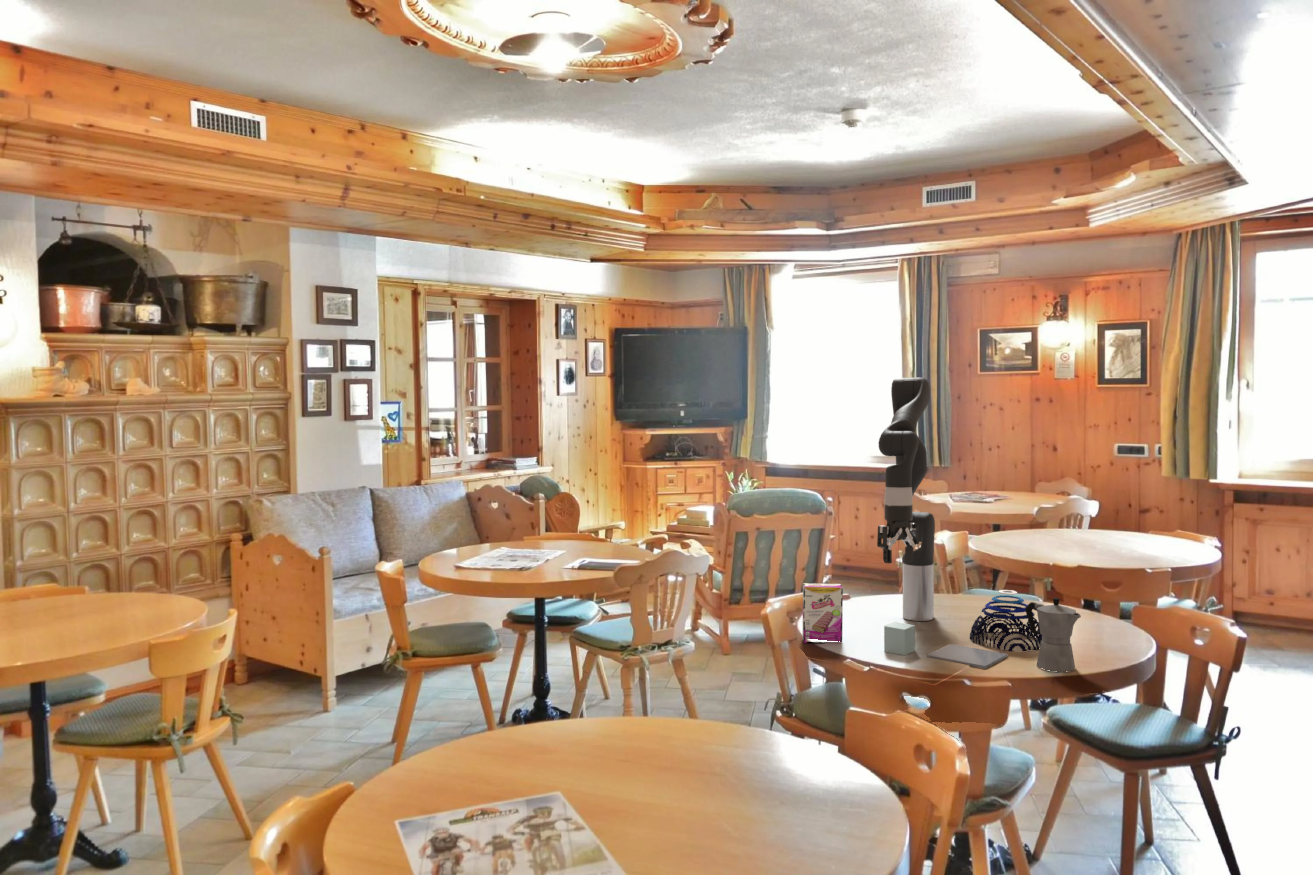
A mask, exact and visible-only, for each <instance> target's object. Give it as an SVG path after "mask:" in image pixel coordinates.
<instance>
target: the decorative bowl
mask: <svg viewBox="0 0 1313 875" xmlns="http://www.w3.org/2000/svg"><path fill="white" fill-rule="evenodd" d="M997 592H998V593H999V594H1002V595H995V596H993V597H992V598H991V601H988V602H987V603H986V604H985V605H984V607H982V610H981V613H983V614H984V615H985V616H984V617H983V616H982V615H978V616H977V618H976V619H975V620H974V621H973V623H972V626H971V630H970V633H969V640H970V642H972V644H973V645H974V644H975V645H979V646H983V647H984V645H985V644H986V645H987V646H986V647H987V648H988V647H989V648H992V646H993V649H995V646H996V649H997V650H1001V647H1002V645H1003V643H1004V641H1005V639H1006V638H1007V637H1009V636H1011V635H1019V636H1023V637H1025V638H1026V639H1027V640H1028V641H1029V642H1030V644H1031V645H1030V644H1029V642H1028V641H1026V640H1025V639H1024V638H1022V637H1012V638H1010V639H1008V640H1007V641H1006V642H1005V643H1004V645H1003V649H1002V651H1004V652H1013V650H1014V649H1015V648H1016V647H1019V648H1020V649H1021V651H1027V650H1036V651H1039V648H1040V644H1041V641H1042V635H1041V634H1040V633H1039V635H1036V634H1033V633H1032V632H1031V628H1030V625H1029V621H1028V618H1027V614H1024V615H1015V614H1017V613H1018V614H1019V613H1026V611H1025V608H1026V606H1027V605H1028V604H1027V603H1024V602H1025V600H1024V599H1023V598H1021V597H1020V596H1016V595H1018V592H1017V591H1016V590H1012V589H1010V590H1009V589H1000V590H998V591H997ZM1014 595H1015V596H1014ZM999 598H1010V599H1011V598H1012V599H1016V600H1005V599H1004V600H1003V599H999ZM993 604H994V605H993ZM998 604H999V605H998ZM1005 604H1007V605H1005ZM1008 604H1010V605H1008ZM1017 605H1018V606H1017ZM1021 606H1024V607H1021ZM986 610H991V611H993V612H989V611H986ZM1032 613H1033V620H1034V622H1035V629H1036V630H1037V631H1039V632H1040V628H1039V621H1038V619H1037V618H1035V613H1034V612H1033V611H1032ZM1025 619H1026V620H1027V621H1026V623H1024V622H1023V621H1022V620H1025ZM988 627H989V628H988ZM1014 630H1015V631H1014ZM988 634H992V635H991V637H990V638H989V635H988ZM1001 634H1002V635H1001ZM1000 635H1001V636H1000ZM999 636H1000V637H999ZM1030 636H1032V637H1030ZM1035 637H1036V638H1037V639H1036V638H1035ZM998 638H999V639H998ZM997 639H998V641H997ZM1032 639H1033V640H1032ZM988 640H989V643H988ZM996 641H997V643H996ZM1013 641H1021V642H1016V643H1015V642H1013ZM1011 642H1013V643H1011ZM1022 642H1023V643H1022ZM984 643H985V644H984ZM992 643H993V644H992ZM1010 643H1011V644H1010ZM1009 644H1010V645H1009ZM1008 645H1009V646H1008ZM1007 646H1008V648H1007ZM1031 646H1032V647H1031ZM1026 647H1027V648H1026ZM1006 648H1007V649H1006ZM1027 652H1028V651H1027Z"/></svg>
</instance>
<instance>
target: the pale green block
mask: <svg viewBox="0 0 1313 875" xmlns="http://www.w3.org/2000/svg"><path fill="white" fill-rule="evenodd" d="M883 627H884V628H883V630H884V631H883V632H884V635H883V636H884V637H883V639H884V640H883V641H884V643H883V644H884V646H883V648H884V652H886V653H890V654H895V655H900V656H906V655H908V654H910V653H913V652H915V651H916V625H915V624H909V623H904V622H898V621H893V622H891V623H888V624H887V625H884V626H883Z"/></svg>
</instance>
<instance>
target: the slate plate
mask: <svg viewBox="0 0 1313 875" xmlns="http://www.w3.org/2000/svg"><path fill="white" fill-rule="evenodd" d="M926 657H927V658H931V659H938V660H943V661H948V662H953V663H958V664H964V665H968V667H972V668H978V669H982V670H986V669H988V668H990V667H992V666H993V665H995V664H997V663H999V662H1001V661H1003V660H1005V659H1007V658H1008V653H1003V652H998V651H993V650H987V649H981V648H976V647H971V646H970V647H969V646H964V645H959V644H953V643H949V644H947V645H944V646H943V647H940V648H938V649H937V650H934V651H931V652H930V653H928V654H926Z"/></svg>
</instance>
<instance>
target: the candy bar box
mask: <svg viewBox="0 0 1313 875" xmlns="http://www.w3.org/2000/svg"><path fill="white" fill-rule="evenodd" d="M843 588H844V587H843V585H842V584H841V583H815V582H814V583H811V582H810V583H806V582H804V583H802V643H804V644H808V643H807V639H818V640H827V641H838V642H839V641H840V642H842V643H843V611H844V610H843V609H844V608H843V607H844V606H843V605H844V604H843V601H844V600H843V599H844V598H843V595H844V592H843V591H844V590H843Z"/></svg>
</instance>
